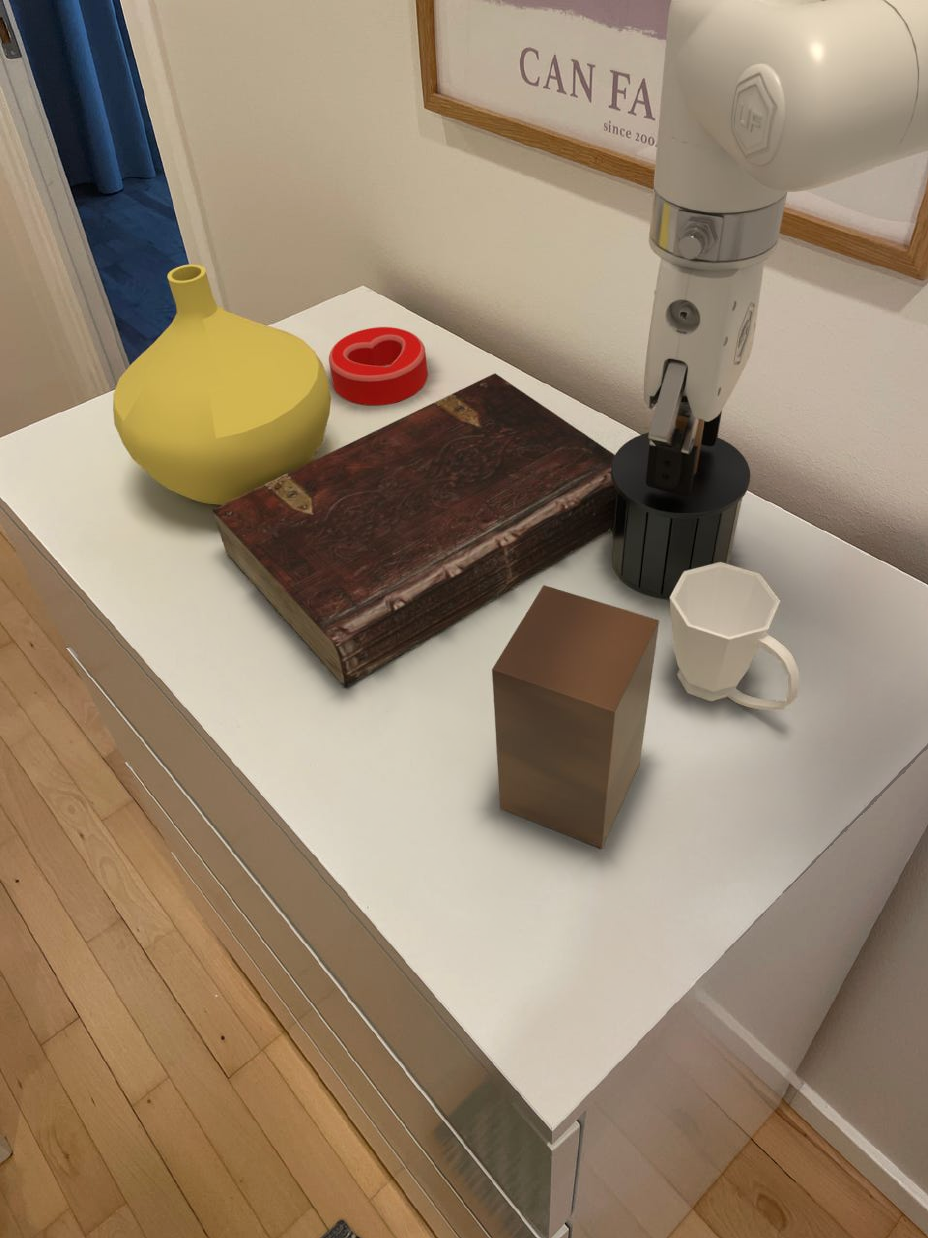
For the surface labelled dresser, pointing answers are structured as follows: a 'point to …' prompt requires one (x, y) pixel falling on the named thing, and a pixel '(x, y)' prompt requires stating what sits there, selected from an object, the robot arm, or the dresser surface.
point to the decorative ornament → (378, 366)
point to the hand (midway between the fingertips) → (681, 462)
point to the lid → (713, 484)
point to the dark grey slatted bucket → (666, 546)
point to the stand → (572, 712)
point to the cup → (725, 633)
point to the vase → (220, 399)
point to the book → (419, 522)
